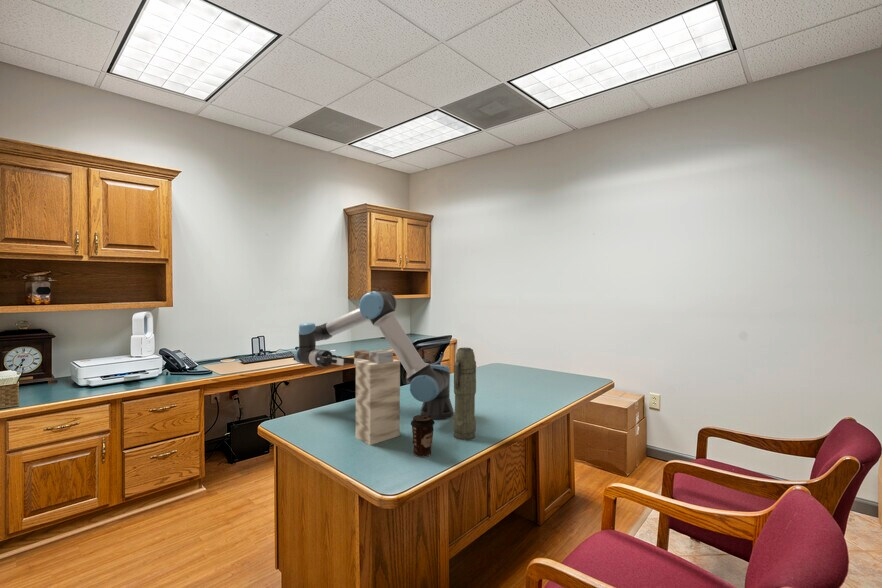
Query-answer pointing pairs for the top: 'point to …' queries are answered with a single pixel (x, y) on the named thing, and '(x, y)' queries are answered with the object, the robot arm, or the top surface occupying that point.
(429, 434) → the coffee cup
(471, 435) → the thermos
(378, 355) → the hammer
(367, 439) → the pedestal
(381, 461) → the top surface
